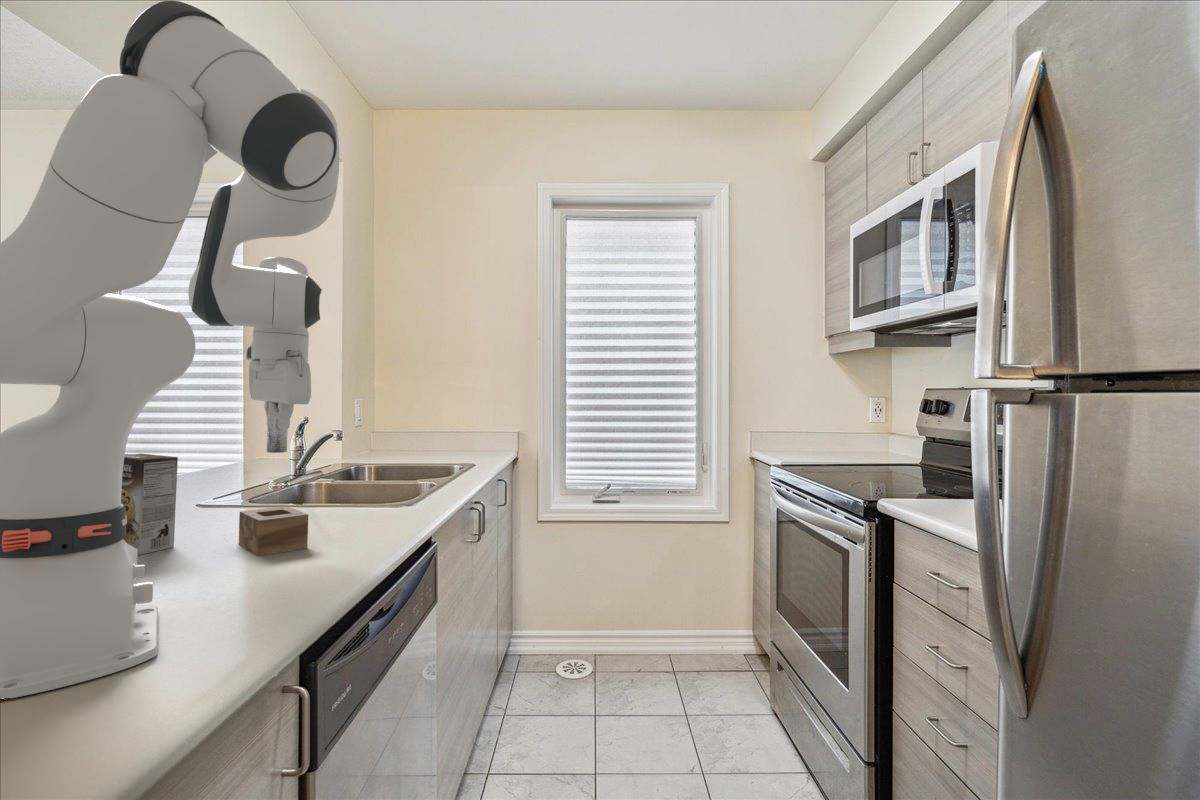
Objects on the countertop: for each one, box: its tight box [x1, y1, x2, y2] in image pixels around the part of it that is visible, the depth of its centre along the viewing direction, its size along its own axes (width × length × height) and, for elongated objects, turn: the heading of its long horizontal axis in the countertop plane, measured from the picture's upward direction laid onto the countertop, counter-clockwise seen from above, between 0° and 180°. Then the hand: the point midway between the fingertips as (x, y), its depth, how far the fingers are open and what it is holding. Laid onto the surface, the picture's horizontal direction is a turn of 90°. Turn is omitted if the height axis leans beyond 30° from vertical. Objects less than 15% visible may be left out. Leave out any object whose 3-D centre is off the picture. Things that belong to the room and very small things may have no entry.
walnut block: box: [238, 505, 309, 557], centre depth 104 cm, size 10×8×6 cm
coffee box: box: [121, 453, 179, 556], centre depth 100 cm, size 9×6×16 cm
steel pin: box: [266, 401, 289, 454], centre depth 104 cm, size 3×3×10 cm
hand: (277, 427), depth 104 cm, fingers closed on steel pin, 3 cm apart
